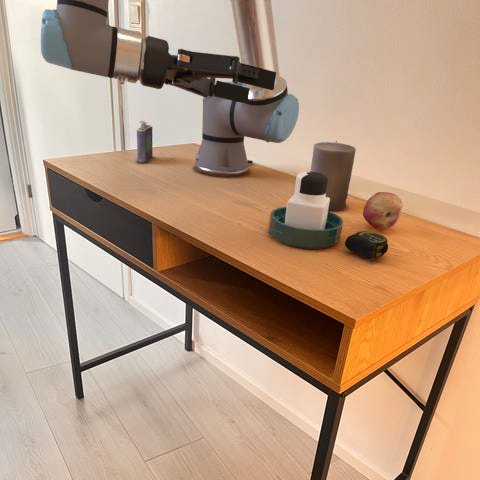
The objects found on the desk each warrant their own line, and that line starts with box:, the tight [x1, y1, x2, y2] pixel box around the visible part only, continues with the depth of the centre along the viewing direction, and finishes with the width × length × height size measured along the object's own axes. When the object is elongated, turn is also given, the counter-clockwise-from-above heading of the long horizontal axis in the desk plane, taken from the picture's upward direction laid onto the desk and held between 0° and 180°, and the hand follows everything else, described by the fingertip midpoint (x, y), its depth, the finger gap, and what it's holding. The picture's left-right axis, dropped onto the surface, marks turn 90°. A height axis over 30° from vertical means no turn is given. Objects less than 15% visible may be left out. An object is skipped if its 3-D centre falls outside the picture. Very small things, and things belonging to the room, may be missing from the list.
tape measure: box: [344, 230, 389, 261], centre depth 92 cm, size 7×7×4 cm
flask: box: [136, 120, 154, 164], centre depth 141 cm, size 9×3×11 cm, turn 172°
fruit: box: [362, 191, 404, 231], centre depth 105 cm, size 8×8×8 cm
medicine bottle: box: [285, 170, 330, 230], centre depth 96 cm, size 7×7×12 cm
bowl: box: [268, 205, 344, 250], centre depth 99 cm, size 14×14×4 cm
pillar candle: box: [309, 140, 357, 212], centre depth 115 cm, size 10×10×15 cm
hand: (260, 89), depth 88 cm, fingers open, 13 cm apart
